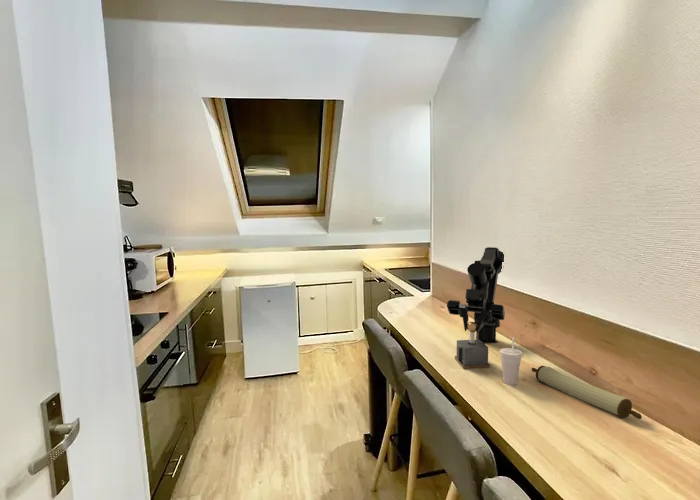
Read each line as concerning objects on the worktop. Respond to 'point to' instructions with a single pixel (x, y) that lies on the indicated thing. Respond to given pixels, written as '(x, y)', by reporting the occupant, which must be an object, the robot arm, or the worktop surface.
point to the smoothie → (510, 364)
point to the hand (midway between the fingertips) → (471, 331)
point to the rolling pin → (586, 392)
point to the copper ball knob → (472, 331)
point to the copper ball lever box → (472, 354)
